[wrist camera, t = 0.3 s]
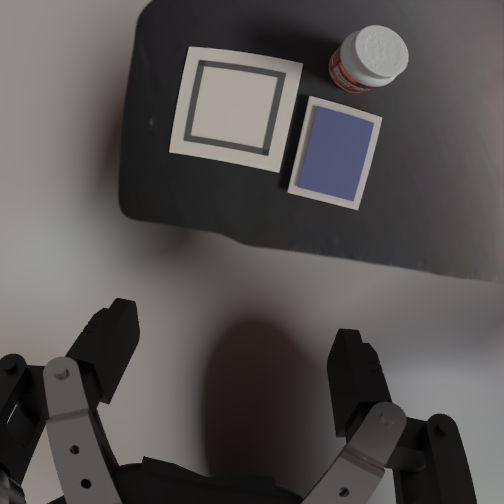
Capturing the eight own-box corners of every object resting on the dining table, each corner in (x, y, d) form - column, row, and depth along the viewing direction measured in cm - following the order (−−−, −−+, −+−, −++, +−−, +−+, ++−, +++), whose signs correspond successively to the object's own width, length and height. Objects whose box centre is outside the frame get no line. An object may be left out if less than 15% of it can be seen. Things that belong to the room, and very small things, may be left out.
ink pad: (308, 96, 32) (310, 95, 31) (379, 117, 32) (383, 117, 31) (287, 190, 37) (287, 193, 36) (355, 207, 37) (358, 211, 36)
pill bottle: (320, 80, 31) (338, 62, 21) (337, 39, 29) (360, 8, 18) (366, 102, 32) (401, 94, 21) (383, 61, 29) (421, 42, 19)
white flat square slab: (189, 47, 31) (188, 46, 30) (303, 63, 31) (303, 63, 30) (169, 151, 36) (168, 152, 36) (279, 172, 36) (279, 172, 36)
